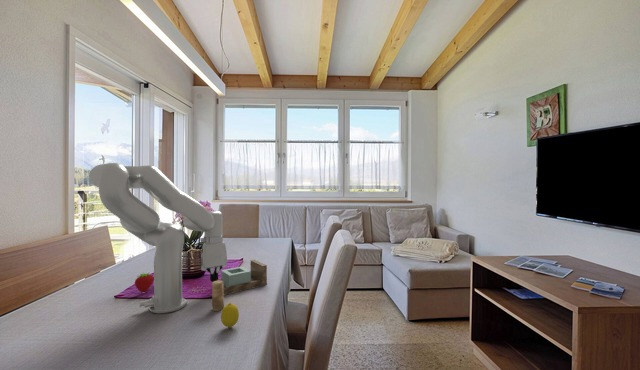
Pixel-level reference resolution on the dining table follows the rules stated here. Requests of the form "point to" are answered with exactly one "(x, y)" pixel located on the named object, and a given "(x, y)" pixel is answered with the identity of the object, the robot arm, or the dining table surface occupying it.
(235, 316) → the lemon
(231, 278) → the socket block
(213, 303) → the oak dowel
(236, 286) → the track board
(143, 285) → the strawberry
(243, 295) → the dining table surface
